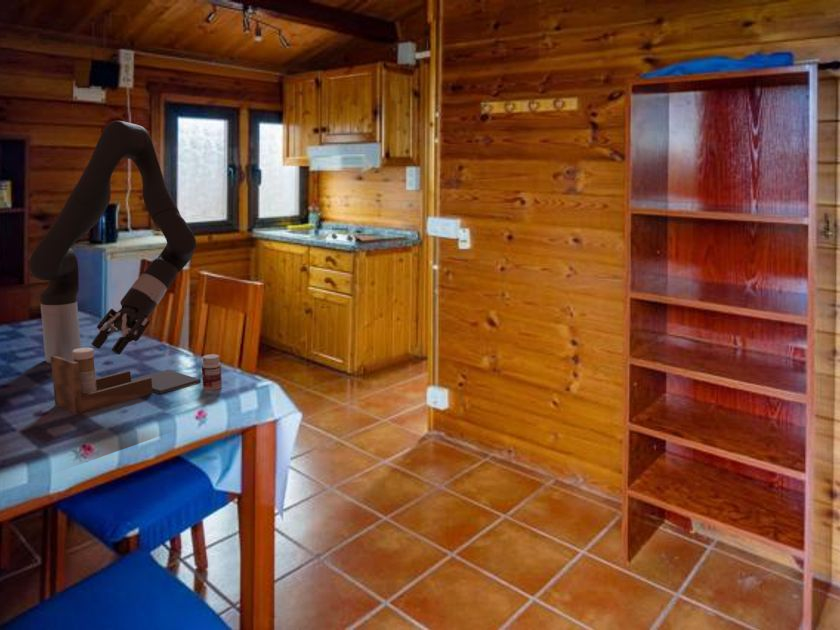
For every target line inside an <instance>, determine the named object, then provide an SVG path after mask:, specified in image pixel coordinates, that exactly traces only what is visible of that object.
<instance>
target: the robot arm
mask: <svg viewBox="0 0 840 630" xmlns="http://www.w3.org/2000/svg"><path fill="white" fill-rule="evenodd" d="M100 134H101V135H100V136H99V139H98V140H97V143H96V146H95V148H94V150H93V152H92V154H91V156H90V159H89V160H88V163H87V165H86V166H85V168H84V170H83V172H82V174H81V176H80V177H79V180H78V181H77V183H76V184H75V186H74V188H73V189H72V190H71V192H70V194H69V196H68V197H67V200H66V201H65V203H64V206H63V207H62V209H61V210H60V211H59V213H58V215H57V217H56V218H55V220H54V222H53V224H52V226H51V227H50V228H49V230H48V231H47V233H46V234H45V236H44V237H43V238H42V240H41V241H40V242H39V244H38V245H37V246H36V247H35V248H34V250H33V252H32V253H31V255H30V257H29V263H28V264H29V265H28V266H29V269H30V272H31V275H32V276H33V277H35V278H36V279H38V280H41V281H49V282H48V285H47V286H46V288H45V289H44V290H42V291H41V292H40V294H39V302H40V315H41V323H42V337H43V347H44V358H45V363H47V364H49V365H51V356H54V355H55V356H59V357H62V358H65V359H68V360H71V361H74V360H73V356H72V351H73V350H75V349H78V348H82V344H81V343H82V342H81V332H80V321H79V320H80V319H79V309H78V299H77V298H78V297H77V296H78V294H79V293H78V292H79V290H80V288H79V287H80V279H79V278H80V276H79V263H78V258H77V255H76V253H75V251H74V250H73V249H72V248H71V247H72V246H73V245H74V244H75V243H76V242H78V241H79V240H80V239H81V238H82V237H83V236H85V235H86V234H87V233H88V232H89V231H90V230H91V229H93V228H94V226H96V224H97V223H99V221H100V219H101V218H102V216H103V215H104V213H105V211H106V210H107V208H108V207H109V204H110V203H111V198H112V197H111V195H112V193H111V192H112V191H111V188H112V187H111V181H112V180H111V179H112V176H113V174H114V171H115V169H116V168H117V165H118V164H119V163H120V162H121V161H122V159H127V160H128V159H129V160H132V161H133V163H134V165H135V167H137V169H138V171H139V174H140V177H141V180H142V181H141V183H142V199H143V204H144V206H145V208H146V210H147V212H148V215H149V216H150V218H151V220H152V221H153V224H154V226H155V227H156V228H157V229H158V230H160V231H161V232H162V235H163V237H164V238H165V240H166V245H165V247H164V248H163V250H162V251H161V252H160V254H159V255H158V257H157V258H155V259H153V260H152V261H151V262H150V263H149V265H148V266H147V267H146V268H145V270H144V271H143V273H142V274H140V276H139V277H138V278H137V279H136V280H135V281H134V282H133V284H132V285H131V287H130V288H129V289H128V291H127V292H126V293H125V295H124V296H123V297H122V299H121V300H120V305H121V308H120V309H119V310H118V311H116V310H115V309H114V308H111V309H109V310H108V312H107V313H106V314H105V315H104V317H103V318H102V319H101V320H100V322H99V323H98V324H97V325H96V328H97V330H98V331H99V333H98V334H97V335H96V336H95V338H94V339H93V341H92V342H91V345H92V346H93V347H94V348H96V349H101V347H102V346H103V345H104V343H106V341H107V339H108V338H109V337H110V336H111V335H112V334H114V333H118V332H120V331H121V332H122V333H121V337H119V338H118V339H117V341H116V343H115V344H114V345H113V346H112V348H111V352H113V353H114V354H116V355H121V354H122V352H123V351H124V350H125V349H126V347H127V345H129V343H132V342H133V341H134V342H137V341H139V340H140V338H141V337H142V335H143V334H144V332H145V331H146V329H147V327H148V326H149V325H150V322H151V321H150V320H149V317H150V315H151V314H152V313H153V312H154V310H155V309H156V307H157V306H158V305H159V303H160V302H161V300H162V299H163V297H164V296H165V294H166V292H167V290H168V289H169V287H170V286H171V285H172V283H173V282H174V281H175V279H176V277H177V276H178V274H179V273H180V272H181V271H182V270H183V269H184V268H185V267H186V266H187V264H188V263H189V262H190V260H191V259H192V257H193V255H194V253H195V250H196V247H197V240H196V237H195V234H194V233H193V231H192V229H191V228H190V226H189V224H188V223H187V222H186V220H185V219H184V218H183V217H182V215H181V213H180V211H179V208H178V207H177V205H176V203H175V201H174V198H173V197H172V194H171V193H170V190H169V187H168V186H167V183H166V181H165V178H164V175H163V171H162V170H161V165H160V161H159V160H158V157H157V152H156V148H155V146H154V143H153V141H152V138H151V136H150V135H151V134H149V131H147V129H146V128H145V127H143V126H142V125H139V124H137V123H131V122H127V121H122V120H113V121H111V122H109V123H108V124H107V125H105V127H104V128H103V129H102V132H101V133H100Z"/></svg>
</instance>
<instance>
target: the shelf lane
mask: <svg viewBox="0 0 840 630" xmlns="http://www.w3.org/2000/svg"><path fill="white" fill-rule="evenodd" d="M50 365H51V375H52V384H53V395H54V405H55V406H56V405H57V406H56V407H58V406H60V407H59V408H61V407H62V408H61V409H64V408H65V409H64V410H66V409H67V410H66V411H69V410H70V411H69V412H71V411H72V412H71V413H73V414H76V413H77V415H81V413H82V414H85V413H88V412H87V411H89V412H92V411H95V410H94V409H96V410H98V408H99V409H102V408H101V407H103V408H106V407H109V405H110V406H113V405H116V404H120V403H122V402H123V403H124V402H127V401H130V400H133V399H136V398H141V397H143V396H148V395H151V394H153V391H152V378H150V377H148V378H144V379H140V380H136V381H133V382H131V379H132V375H131V371H130V370H126V371H122V372H117V373H114V374H113V373H112V374H108V375H105V376H102V377H96V388H97V390H96V391H95V392H91V393H87V394H83V395H81V387H80V375H79V364H78V362H74V361H71V360H68V359H65V358H62V357H59V356H55V355H54V356H51V364H50ZM105 406H106V407H105ZM91 410H92V411H91ZM84 412H85V413H84Z"/></svg>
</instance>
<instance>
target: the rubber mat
mask: <svg viewBox="0 0 840 630" xmlns="http://www.w3.org/2000/svg"><path fill="white" fill-rule="evenodd" d="M148 377H150V378H152V392H155V393H157V394H165V393H168V392H171V391H175V390H178V389H181V388H185V387H187V386H191V385H195V384H199V383H202V382H201V379H200V378H197V377H195V376H190V375H188V374H185V373H184V374H183V373H180V372H177V371H173V370H169V369H165V370H162V371H158V372H153V373H149V374H146V375H142V376H138V377H135V378H131V382H133V381H136V380H140V379H144V378H148Z"/></svg>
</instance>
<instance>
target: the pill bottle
mask: <svg viewBox="0 0 840 630" xmlns="http://www.w3.org/2000/svg"><path fill="white" fill-rule="evenodd" d="M201 376H202V388H203V390H206V391H215V389H216V390H220V388H222V386H223V381H222V380H223V379H222V363H220V355H218V354H214V353H211V354H205V355H203V356H202V364H201Z"/></svg>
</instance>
